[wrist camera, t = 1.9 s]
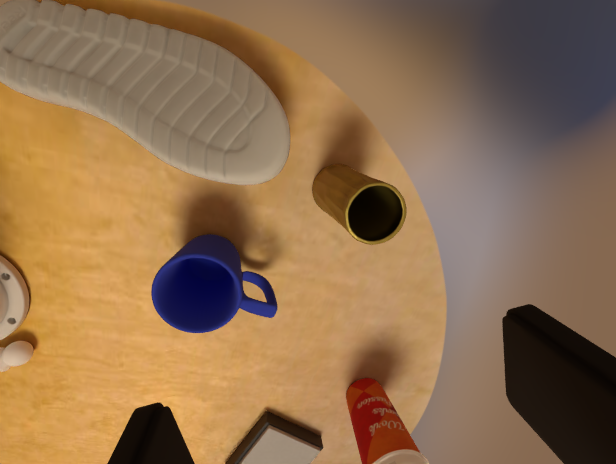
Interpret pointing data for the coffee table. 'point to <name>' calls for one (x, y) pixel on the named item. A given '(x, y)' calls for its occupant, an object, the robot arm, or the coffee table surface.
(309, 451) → the scale
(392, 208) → the vase
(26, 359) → the chess pawn
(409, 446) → the paper cup
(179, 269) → the mug
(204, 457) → the coffee table surface
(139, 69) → the sandal
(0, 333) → the robot arm
